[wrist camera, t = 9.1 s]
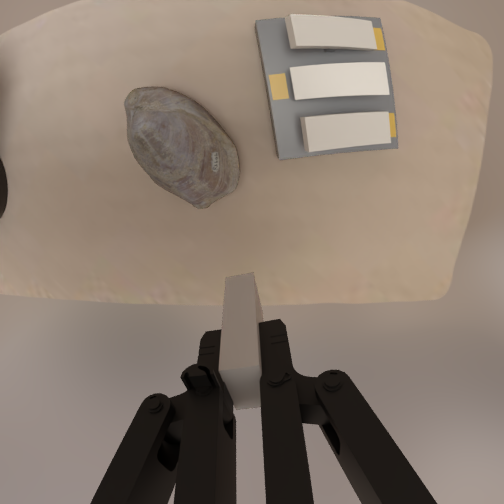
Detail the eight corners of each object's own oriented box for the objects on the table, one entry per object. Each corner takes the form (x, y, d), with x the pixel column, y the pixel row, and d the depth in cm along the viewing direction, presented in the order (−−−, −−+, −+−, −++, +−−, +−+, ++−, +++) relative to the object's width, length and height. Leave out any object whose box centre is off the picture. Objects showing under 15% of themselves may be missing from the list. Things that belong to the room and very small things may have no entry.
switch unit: (277, 156, 36) (281, 162, 32) (254, 27, 29) (255, 16, 25) (388, 145, 36) (404, 150, 31) (371, 23, 28) (386, 14, 24)
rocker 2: (296, 100, 30) (295, 99, 28) (290, 69, 28) (289, 67, 27) (386, 95, 27) (389, 94, 26) (381, 64, 26) (384, 62, 24)
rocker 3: (303, 150, 31) (309, 152, 29) (299, 117, 29) (304, 117, 28) (383, 141, 31) (391, 142, 30) (380, 111, 30) (388, 111, 28)
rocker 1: (289, 49, 25) (296, 45, 24) (283, 18, 24) (289, 14, 22) (368, 51, 27) (377, 49, 26) (362, 23, 26) (371, 20, 24)
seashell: (241, 212, 35) (196, 108, 22) (153, 216, 38) (88, 134, 25) (250, 155, 39) (218, 57, 26) (171, 163, 42) (124, 81, 29)
